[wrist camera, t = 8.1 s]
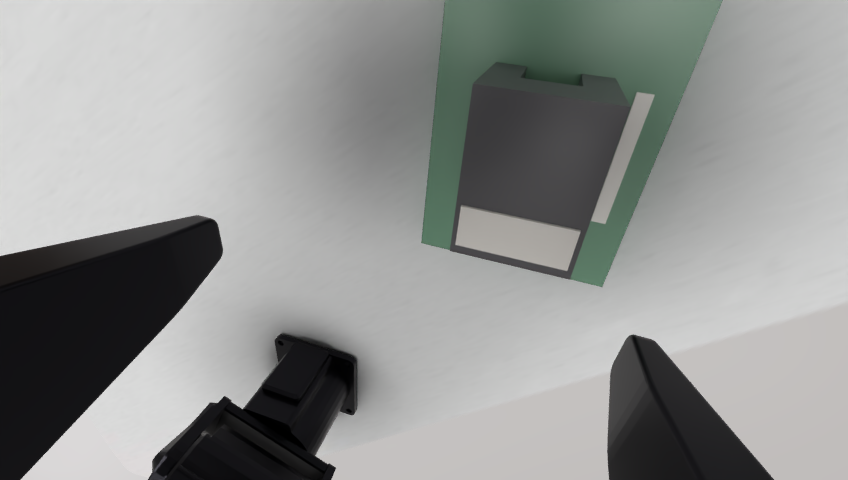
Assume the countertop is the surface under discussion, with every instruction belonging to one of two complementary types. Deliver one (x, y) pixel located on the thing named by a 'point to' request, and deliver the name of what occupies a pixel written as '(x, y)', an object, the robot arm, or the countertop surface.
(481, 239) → the plug
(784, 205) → the countertop surface
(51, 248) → the robot arm
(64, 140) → the countertop surface
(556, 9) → the header board
